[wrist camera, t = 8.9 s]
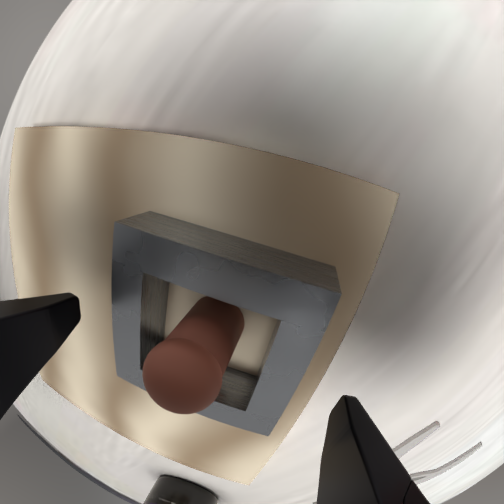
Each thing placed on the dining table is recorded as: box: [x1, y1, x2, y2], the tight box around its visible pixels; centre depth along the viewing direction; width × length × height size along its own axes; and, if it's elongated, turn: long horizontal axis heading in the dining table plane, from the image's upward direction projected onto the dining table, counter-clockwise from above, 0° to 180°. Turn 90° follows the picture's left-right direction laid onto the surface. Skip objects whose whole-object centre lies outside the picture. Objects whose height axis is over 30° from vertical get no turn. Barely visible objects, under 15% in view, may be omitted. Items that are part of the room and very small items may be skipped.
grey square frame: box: [111, 211, 342, 436], centre depth 9 cm, size 6×6×2 cm
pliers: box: [313, 421, 482, 504], centre depth 13 cm, size 10×2×15 cm
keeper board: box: [9, 126, 399, 485], centre depth 10 cm, size 19×20×6 cm
